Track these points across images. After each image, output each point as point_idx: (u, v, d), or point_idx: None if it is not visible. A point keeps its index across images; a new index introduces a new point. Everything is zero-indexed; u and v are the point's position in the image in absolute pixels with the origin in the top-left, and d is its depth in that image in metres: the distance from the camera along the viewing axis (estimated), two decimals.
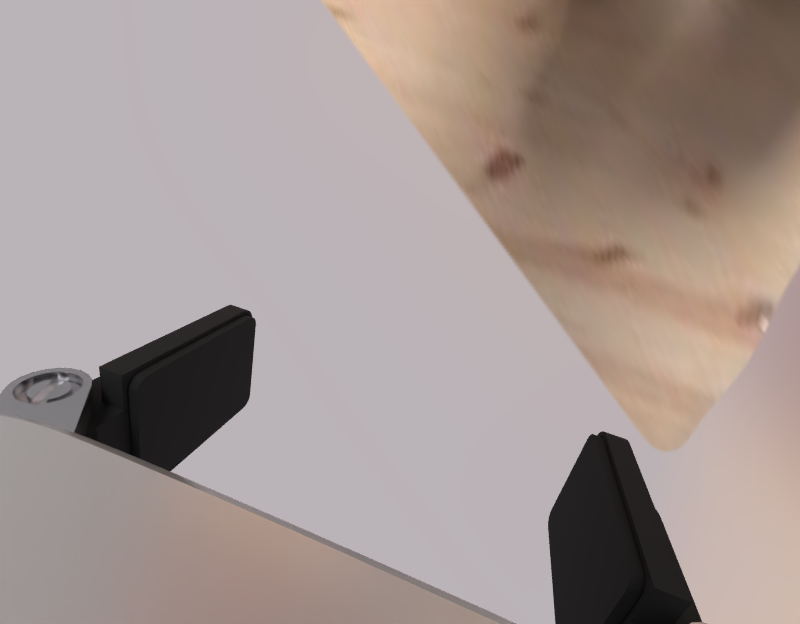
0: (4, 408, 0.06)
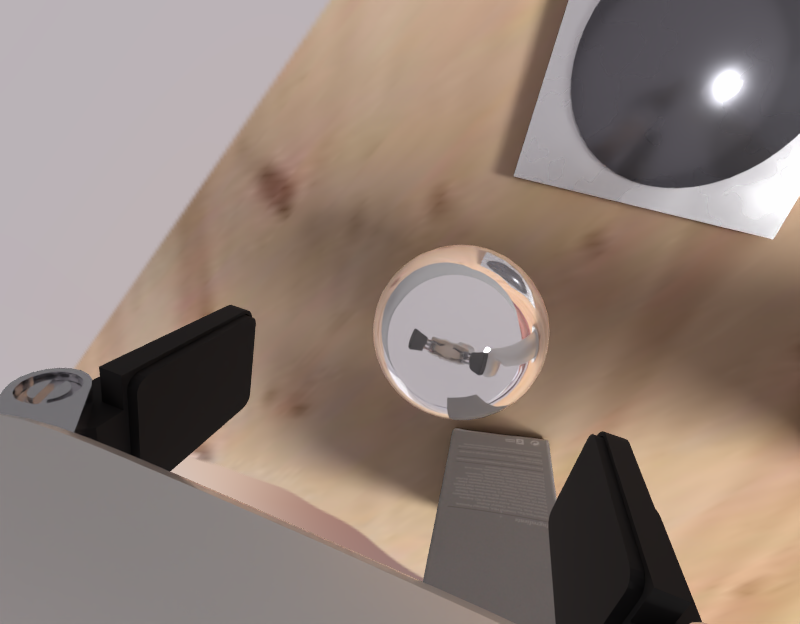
0: (4, 408, 0.06)
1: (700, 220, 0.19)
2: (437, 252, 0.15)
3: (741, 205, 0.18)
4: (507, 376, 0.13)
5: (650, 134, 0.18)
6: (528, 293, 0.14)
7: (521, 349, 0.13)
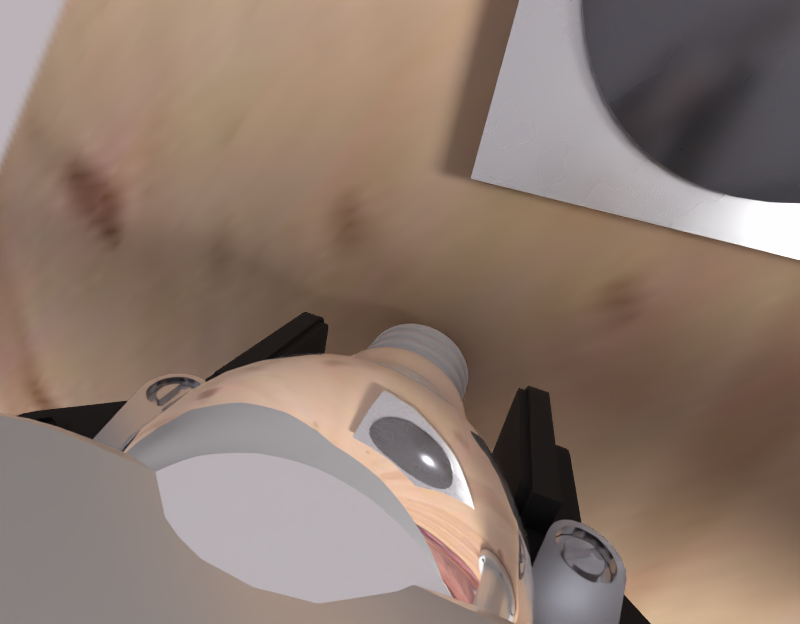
0: (144, 411, 0.07)
1: None
2: (204, 407, 0.05)
3: None
4: None
5: (753, 90, 0.08)
6: (463, 573, 0.04)
7: None
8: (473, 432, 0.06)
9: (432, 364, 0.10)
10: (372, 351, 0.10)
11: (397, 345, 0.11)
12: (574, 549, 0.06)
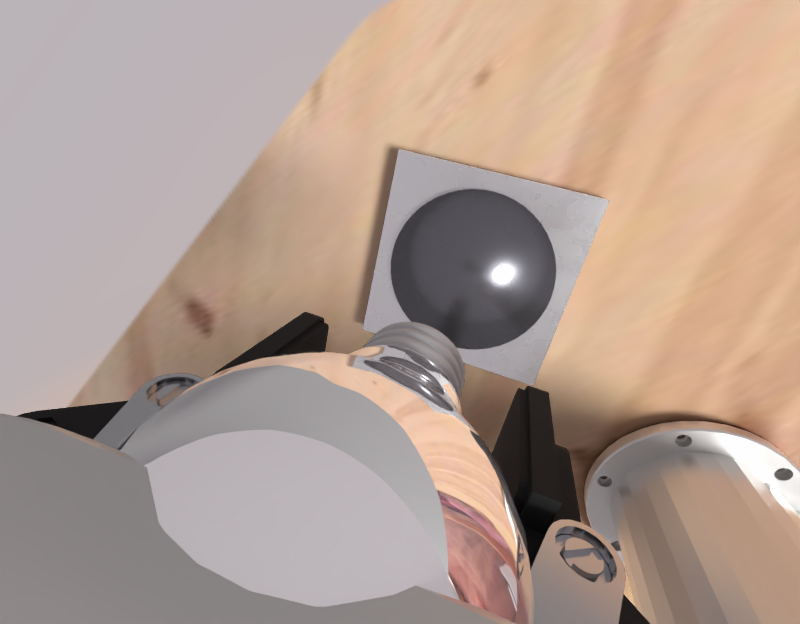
0: (145, 411, 0.07)
1: (486, 369, 0.27)
2: (201, 405, 0.05)
3: (510, 362, 0.26)
4: None
5: (445, 314, 0.26)
6: (463, 570, 0.04)
7: None
8: (471, 429, 0.06)
9: (429, 362, 0.10)
10: (369, 349, 0.10)
11: (394, 343, 0.11)
12: (573, 549, 0.06)
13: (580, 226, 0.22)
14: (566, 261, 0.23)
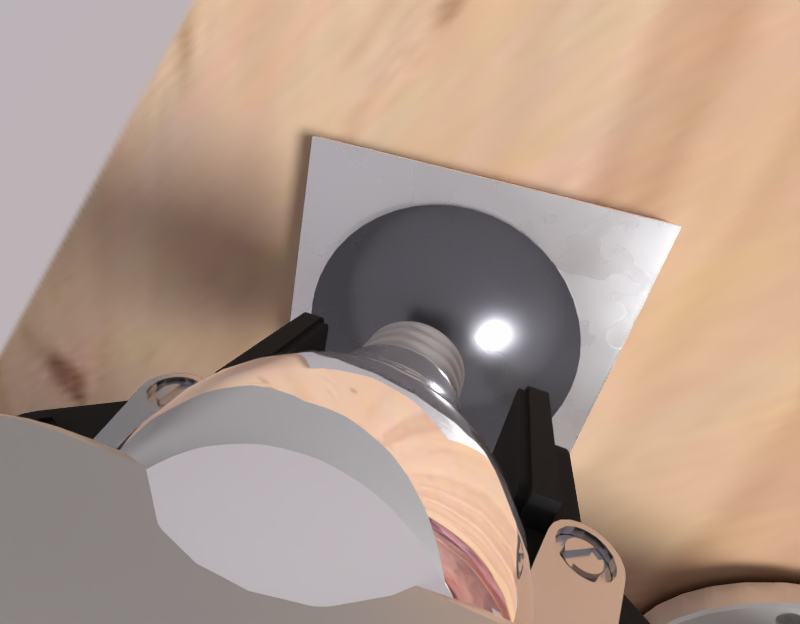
0: (145, 411, 0.07)
1: None
2: (201, 404, 0.05)
3: None
4: None
5: None
6: (462, 568, 0.04)
7: None
8: (470, 428, 0.06)
9: (428, 361, 0.10)
10: (368, 349, 0.10)
11: (393, 343, 0.11)
12: (574, 549, 0.06)
13: (625, 271, 0.13)
14: (598, 329, 0.13)
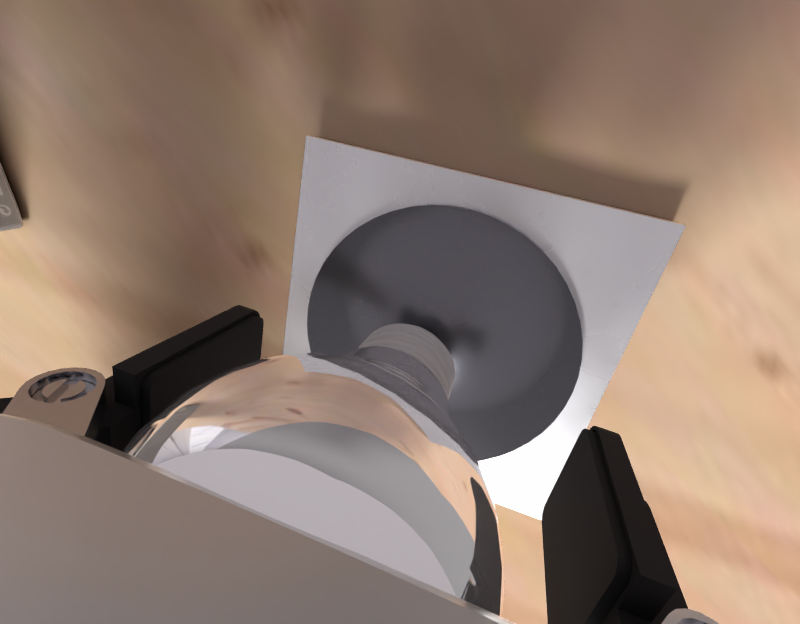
0: (21, 407, 0.07)
1: None
2: (204, 402, 0.06)
3: None
4: None
5: (360, 306, 0.15)
6: (429, 538, 0.05)
7: None
8: (447, 421, 0.07)
9: (417, 361, 0.10)
10: (361, 350, 0.10)
11: (385, 344, 0.12)
12: None
13: (506, 488, 0.16)
14: None
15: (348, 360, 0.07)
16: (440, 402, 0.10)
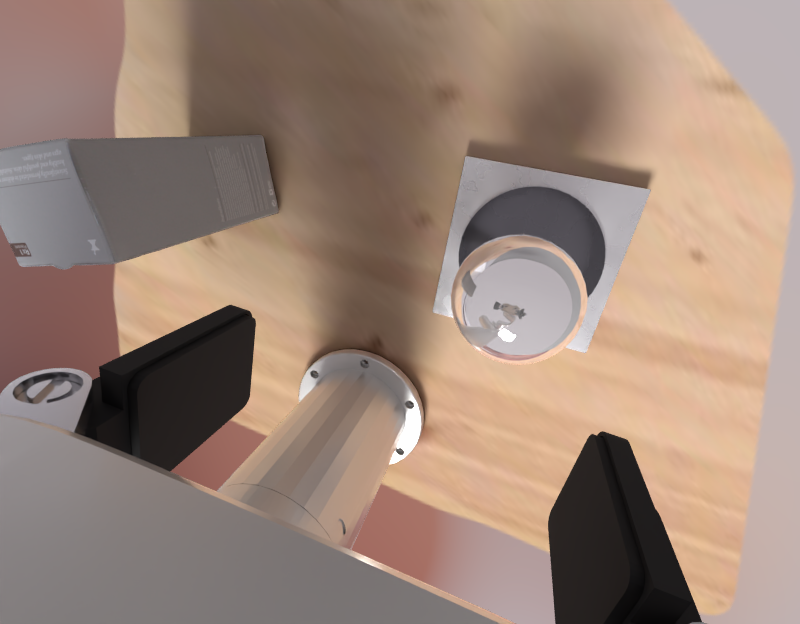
0: (4, 408, 0.06)
1: (440, 276, 0.31)
2: (500, 240, 0.20)
3: (450, 294, 0.32)
4: (561, 325, 0.18)
5: None
6: (571, 265, 0.19)
7: (570, 305, 0.18)
8: None
9: None
10: None
11: None
12: None
13: None
14: None
15: None
16: None
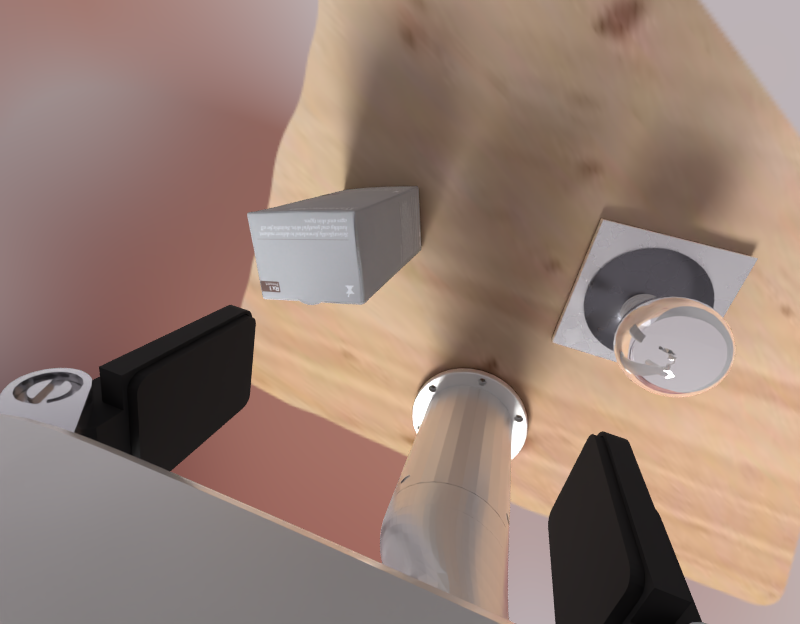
0: (4, 408, 0.06)
1: (565, 313, 0.38)
2: (669, 302, 0.26)
3: (571, 328, 0.38)
4: (723, 371, 0.25)
5: (614, 288, 0.35)
6: (727, 325, 0.26)
7: (730, 356, 0.25)
8: None
9: None
10: None
11: None
12: None
13: None
14: None
15: None
16: None
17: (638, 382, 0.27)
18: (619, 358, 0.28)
